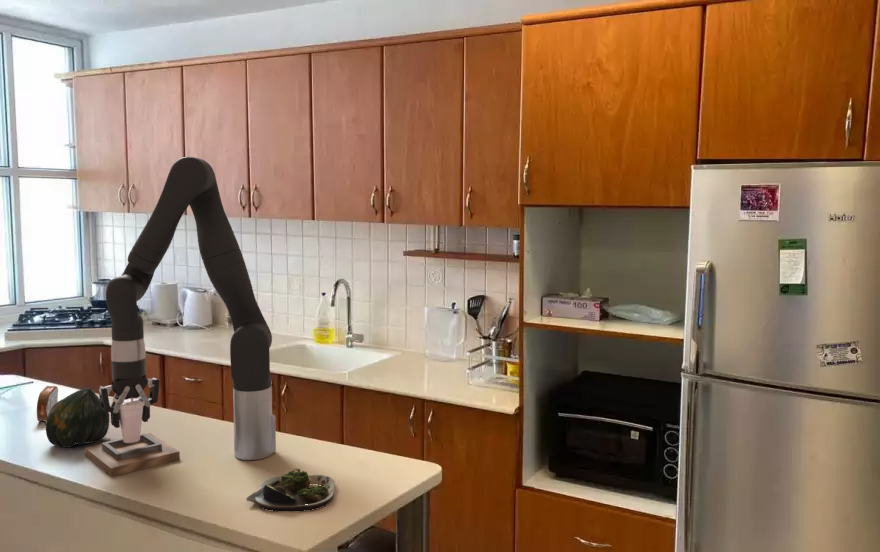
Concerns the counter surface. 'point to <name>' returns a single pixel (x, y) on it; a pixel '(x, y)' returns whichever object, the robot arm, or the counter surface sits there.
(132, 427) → the smoothie
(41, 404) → the tin
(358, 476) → the counter surface
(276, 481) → the salad plate
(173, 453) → the base board
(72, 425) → the squash
